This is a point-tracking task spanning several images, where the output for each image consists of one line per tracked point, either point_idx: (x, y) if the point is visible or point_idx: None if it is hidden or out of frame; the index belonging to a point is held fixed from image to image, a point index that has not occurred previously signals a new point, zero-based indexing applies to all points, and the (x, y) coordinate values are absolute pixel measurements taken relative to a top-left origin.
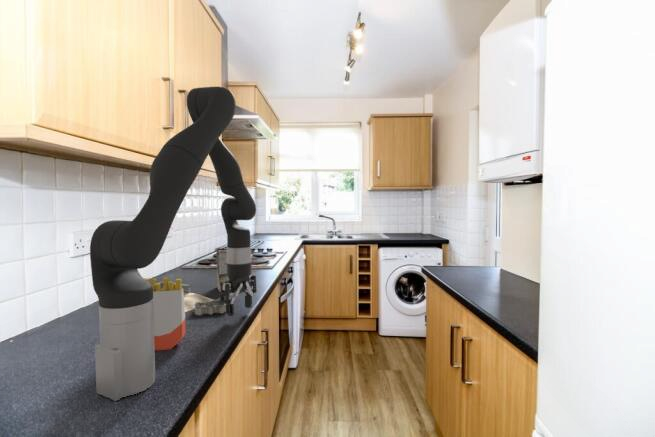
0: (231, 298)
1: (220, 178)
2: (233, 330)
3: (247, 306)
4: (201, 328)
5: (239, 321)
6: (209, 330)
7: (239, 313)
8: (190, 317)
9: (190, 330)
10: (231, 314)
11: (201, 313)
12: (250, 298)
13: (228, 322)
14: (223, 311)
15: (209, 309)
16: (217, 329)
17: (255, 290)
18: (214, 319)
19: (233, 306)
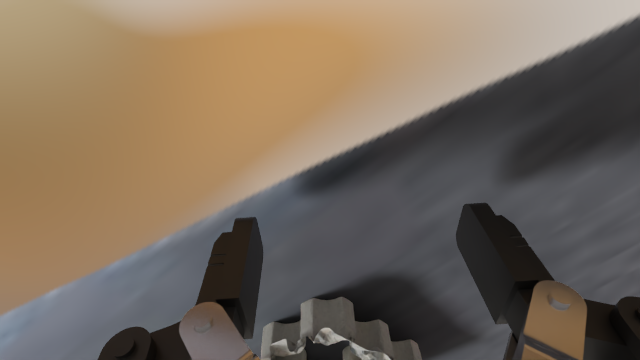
0: (581, 347)
1: None
2: (613, 54)
3: (258, 240)
4: (588, 239)
5: (420, 145)
6: (618, 189)
7: (293, 238)
8: (453, 346)
9: (621, 258)
10: (486, 213)
11: (410, 346)
12: (236, 283)
13: (462, 190)
14: (337, 306)
15: (392, 350)
16: (598, 164)
17: (121, 357)
18: (442, 272)
19: (506, 258)
